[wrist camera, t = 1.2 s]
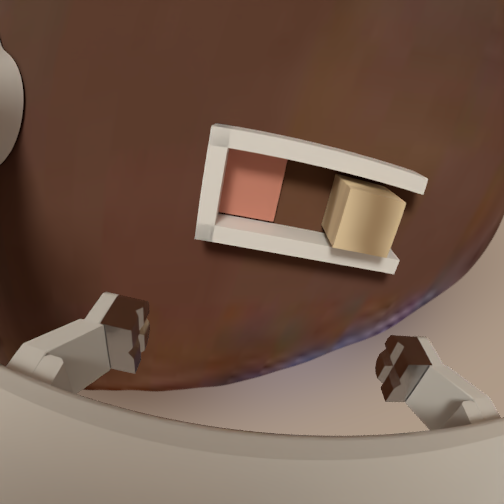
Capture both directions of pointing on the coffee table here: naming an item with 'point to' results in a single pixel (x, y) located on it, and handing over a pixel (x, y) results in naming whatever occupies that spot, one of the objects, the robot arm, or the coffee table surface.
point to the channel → (268, 190)
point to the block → (362, 216)
